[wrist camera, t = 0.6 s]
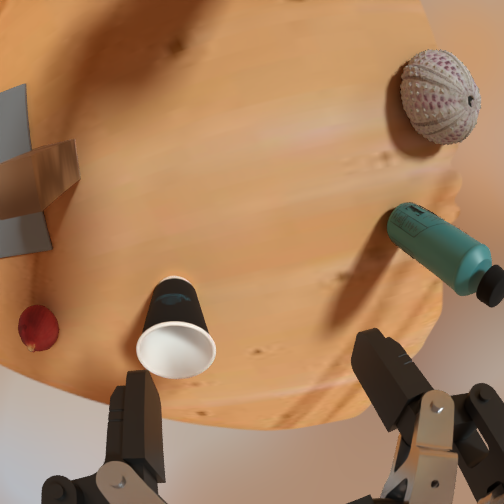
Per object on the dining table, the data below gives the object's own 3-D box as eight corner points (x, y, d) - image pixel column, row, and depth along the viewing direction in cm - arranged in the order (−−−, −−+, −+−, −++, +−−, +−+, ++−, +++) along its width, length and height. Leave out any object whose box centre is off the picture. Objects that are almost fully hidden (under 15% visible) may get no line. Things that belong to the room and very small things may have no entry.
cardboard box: (40, 146, 27) (-11, 168, 17) (75, 138, 27) (31, 155, 18) (46, 185, 29) (0, 220, 19) (80, 178, 29) (41, 211, 20)
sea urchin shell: (383, 48, 29) (425, 43, 22) (452, 51, 30) (492, 52, 23) (398, 147, 36) (439, 160, 29) (461, 135, 37) (500, 147, 30)
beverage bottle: (383, 246, 42) (477, 331, 25) (375, 206, 39) (485, 285, 21) (416, 228, 42) (513, 300, 25) (411, 189, 39) (523, 253, 21)
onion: (34, 324, 36) (16, 363, 29) (25, 291, 33) (3, 328, 26) (68, 328, 37) (54, 369, 30) (60, 295, 35) (42, 334, 28)
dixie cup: (179, 252, 36) (180, 308, 26) (218, 295, 40) (232, 356, 30) (130, 288, 37) (119, 349, 27) (171, 326, 40) (173, 389, 31)
